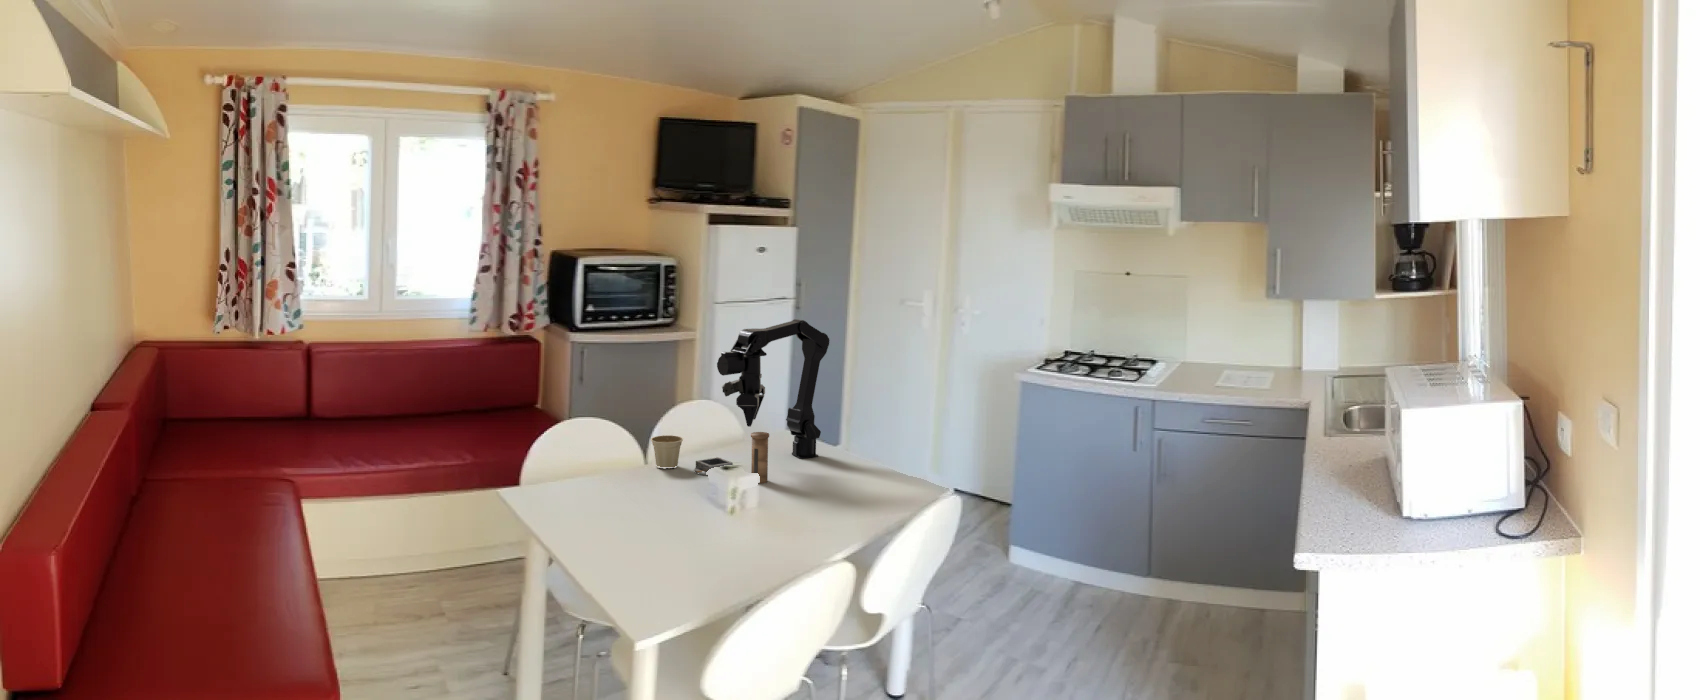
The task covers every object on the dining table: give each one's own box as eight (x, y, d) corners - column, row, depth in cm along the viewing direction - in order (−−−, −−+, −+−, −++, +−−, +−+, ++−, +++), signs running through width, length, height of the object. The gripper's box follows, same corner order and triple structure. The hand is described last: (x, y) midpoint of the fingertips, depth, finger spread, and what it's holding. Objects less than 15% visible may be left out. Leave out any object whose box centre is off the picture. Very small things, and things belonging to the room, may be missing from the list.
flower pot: (679, 471, 300) (679, 442, 299) (647, 470, 300) (647, 441, 299) (685, 463, 310) (685, 435, 308) (654, 462, 310) (654, 434, 309)
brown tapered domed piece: (755, 478, 296) (755, 431, 294) (771, 480, 294) (772, 433, 292) (747, 482, 291) (747, 434, 289) (763, 484, 289) (764, 436, 287)
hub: (720, 464, 310) (720, 455, 310) (741, 472, 301) (741, 463, 301) (686, 469, 303) (686, 460, 302) (707, 478, 294) (707, 468, 294)
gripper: (729, 365, 315) (729, 415, 317) (718, 377, 296) (719, 429, 299) (765, 366, 314) (765, 416, 317) (757, 377, 296) (757, 430, 298)
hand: (751, 422), depth 308 cm, fingers open, 9 cm apart
